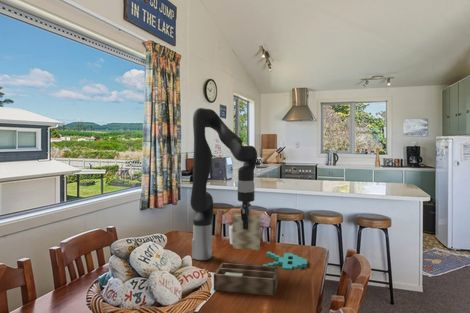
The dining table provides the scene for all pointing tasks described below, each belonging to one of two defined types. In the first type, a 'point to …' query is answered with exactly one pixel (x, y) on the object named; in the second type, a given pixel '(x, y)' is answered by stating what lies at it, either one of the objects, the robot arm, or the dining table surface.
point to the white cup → (231, 234)
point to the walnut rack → (247, 279)
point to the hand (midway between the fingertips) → (246, 228)
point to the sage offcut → (234, 274)
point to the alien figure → (287, 261)
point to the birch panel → (246, 233)
